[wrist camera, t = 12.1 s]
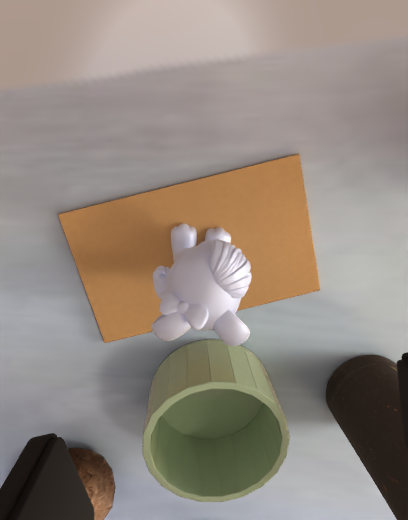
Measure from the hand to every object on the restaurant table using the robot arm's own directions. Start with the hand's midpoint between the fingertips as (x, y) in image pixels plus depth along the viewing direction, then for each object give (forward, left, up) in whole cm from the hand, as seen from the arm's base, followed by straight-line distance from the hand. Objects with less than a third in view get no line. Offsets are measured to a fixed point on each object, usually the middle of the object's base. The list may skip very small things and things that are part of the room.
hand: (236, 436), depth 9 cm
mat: (+1, 0, -21) cm, 21 cm away
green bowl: (+3, +14, -21) cm, 25 cm away
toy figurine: (0, 0, -20) cm, 20 cm away
